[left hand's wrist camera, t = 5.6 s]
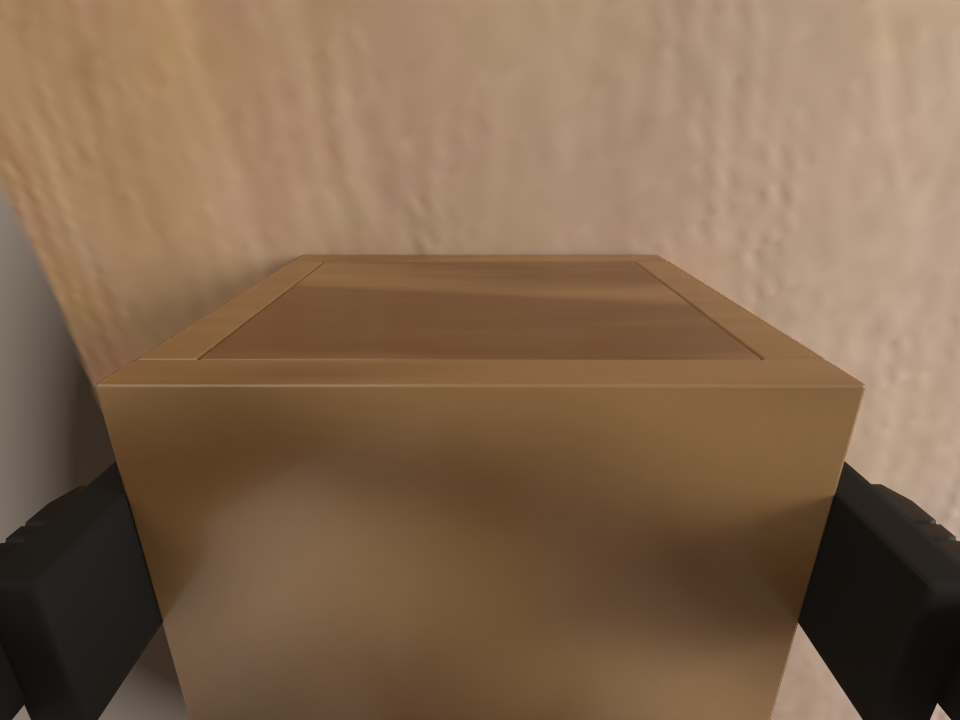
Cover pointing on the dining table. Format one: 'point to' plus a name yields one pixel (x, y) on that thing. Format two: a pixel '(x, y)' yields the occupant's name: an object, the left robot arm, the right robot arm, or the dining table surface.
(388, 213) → the dining table surface
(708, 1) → the dining table surface
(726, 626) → the cabinet
